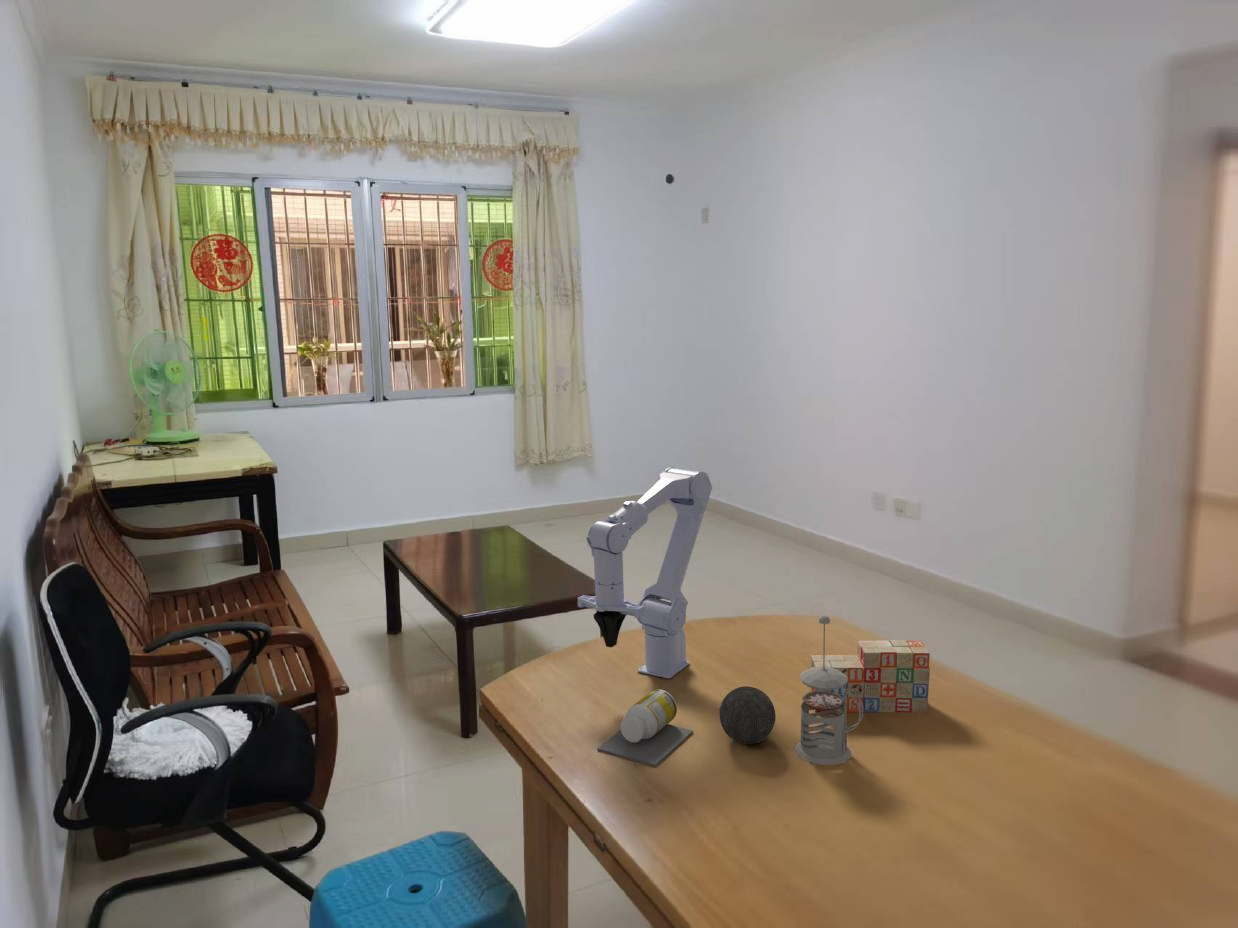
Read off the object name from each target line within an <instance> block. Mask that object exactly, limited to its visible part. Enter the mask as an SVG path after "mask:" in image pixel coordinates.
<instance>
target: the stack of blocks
mask: <svg viewBox="0 0 1238 928" xmlns="http://www.w3.org/2000/svg"><path fill="white" fill-rule="evenodd" d="M856 646H857V647H856V649H857V650H856V651H857V652H856V654H854V655H853V654H848V655H847V654H827V655H826V654H825V666H826V667H830V668H833V669H837V670H839V671H841V672H842V673H844V674H845V675H846V676H847V678H848V680H847V683H846V685H844V686H843V687H841V688H838V689H834V690H824V691H827V692H833V693H836V694H839V695H840V696H842V697H843V693H844V692H846V689H847V688H850V689H852V690H853V691H855V692H856V693H857V695H858V696H859V697H860V699H861V701H862V704H863V713H928V710H929V691H930V690H929V689H930V688H929V686H930V684H929V683H930V673H931V671H930V660H931V659H930V656H931V655H930V651H929V650H928V649H927V647H926V646H925V644H924V643H923V641H921V640H905V639H889V640H887V639H886V640H885V639H884V640H877V639H876V640H857V645H856ZM812 667H823V654H820V655H819V654H815V655H814V654H811V655H810V668H812ZM819 690H820V691H821V689H815V688H811V687H810V692H812V691H819ZM822 691H823V690H822ZM848 693H849V694H851V695H852V696H853V697H854V698H855V700H856V701H857V703H858V705H859V707H860V713H862V706H861V703H860V700H859V698H858V697H857V696H856V694H855V693H854V692H852V691H851V690H848ZM845 695H846V693H845ZM844 700H845V703H844V705H845V707H846V713H859V709H858V706H857V704H856V702H855V700H854V699H853V698H852V697H851V696H850V695H847V697H846V698H844ZM837 710H838V711H839V712H841V713H843V711H842V710H841V709H840V708H839V709H837ZM814 711H815V712H816V713H817V712H821V711H824V710H817V709H816V710H814Z"/></svg>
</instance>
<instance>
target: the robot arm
mask: <svg viewBox="0 0 1238 928" xmlns="http://www.w3.org/2000/svg"><path fill="white" fill-rule="evenodd" d="M657 479H658V480H657V482H655V484H654V485H652V487H650V489H649V490H647V491H646V492H645V493H644V494H643V495H642V496H641V497H640V498H639V499H638V500H637V501H636V500H629V501H628V500H626V501H625V502H623V503H622V506H621V507H619V509H617V510H616V511H615V512H613V514H612V513H611V514H610V515H609V516H608V517H607V518H605V520H604V521H603V520H598V521H595V523H594V524H592V525H591V526H590V528H589V530H588V534H587V536H586V543H587V545H588V547H589V548H590V549H591V550H590V551H591V556H592V558H593V567H594V594H595V595H594V596H593V595H592V596H591V595H584V594H583V595H581V596H578V597H577V607H578V608H584V607H585V608H590V609H594V610H595V613H593V619H594V621H595V622H596V623H597V626H598V628H599V629H600V632H601V634H602V637H603V640H604V644H605V647H606V648H613V647H615V646H616V645H617V644H618V639H619V635H620V630H621V627H622V625H623V622H624V621H625V618H626V617H627V616H632V617H633V618H635V619H636V620H637V622H638V623H639V624H641V630H643V631H644V655H645V657H644V660H645V662H644V663H645V664H644V665H642V666H641V667H639V668H638V669H637V672H638V673H642V674H646V675H651V676H654V677H655V676H656V677H660V678H663V679H671V678H672V677H674V676H675V675H676V674H678V673H679V672H680V671H682V670H683V669H685V668H686V667H687V666H688V665H689V664H690V660H687V650H686V647H687V645H686V643H687V642H686V633H685V631H684V629H683V627H684V625H685V624H686V621H687V620H686V619H687V607H688V603H689V602H688V600H687V598H686V597H685V595H684V594H683V593H682V591H681V589H682V586H683V583H684V579H685V577H686V574H687V570H688V568H689V564H690V560H691V557H692V554H693V550H694V547H695V544H696V542H697V537H698V534H699V531H700V527H701V525H702V520H703V518H704V514H705V512H706V509H707V506H708V503H709V500H710V497H711V493H712V489H713V486H712V483H711V479H710V476H709V475H708V473H707V472H705V471H703V470H702V471H701V470H699V471H696V470H689V469H683V468H682V469H681V468H676V467H674V466H673V467H672V466H670V467H667V468H665V470H664V471H662V472H661V473H660V474H659V475H658V478H657ZM666 502H669V503H670V505H671V506H672V508H673V509H675V511H676V513H677V515H676V519H675V522H674V526H673V529H672V533H671V535H670V539H669V541H668V545H667V549H666V552H665V555H664V557H663V562H662V564H661V567H660V571H659V573H658V577H657V580H656V583H654V584H652V585H650V586H649V587H647V588H645V590H644V594H643V596H642V598H641V599H640V600H639V602H638V604H636V603H634V602H631V601H629V600H626V599H625V594H624V593H625V592H624V590H625V588H624V560H623V559H624V557H623V555H624V554H623V553H624V551H625V550H626V548H627V547H628V543H629V541H630V540H631V538H632V536H633V535H634V534H635V533H636V532H638V531H639V530H640V529H641V528H642V527H643V526H645V525H646V524H647V523H648V520H649V515H650V514H651V513H652V512H653V511H655V510H656V509H658V508H659V507H661V506H663V505H664V504H665V503H666ZM669 601H670V602H669Z"/></svg>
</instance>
